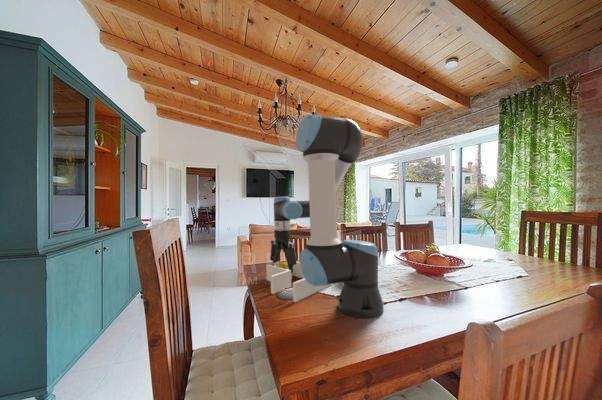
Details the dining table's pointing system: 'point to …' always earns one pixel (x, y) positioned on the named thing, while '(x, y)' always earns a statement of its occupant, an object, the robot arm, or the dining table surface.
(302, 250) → the robot arm
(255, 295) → the dining table surface
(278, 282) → the bent lane
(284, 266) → the lemon
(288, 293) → the pad
